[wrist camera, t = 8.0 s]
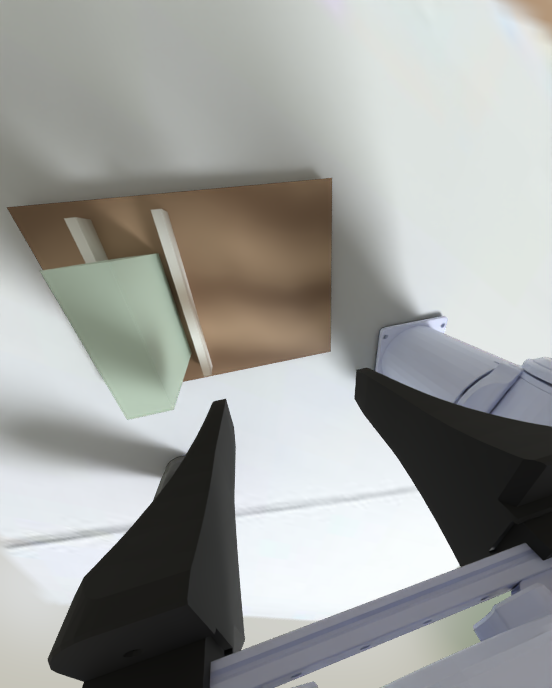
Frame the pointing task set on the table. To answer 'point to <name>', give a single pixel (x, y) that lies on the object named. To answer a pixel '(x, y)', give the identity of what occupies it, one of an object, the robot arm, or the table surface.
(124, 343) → the door panel
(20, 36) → the table surface
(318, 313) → the track base
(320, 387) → the table surface
